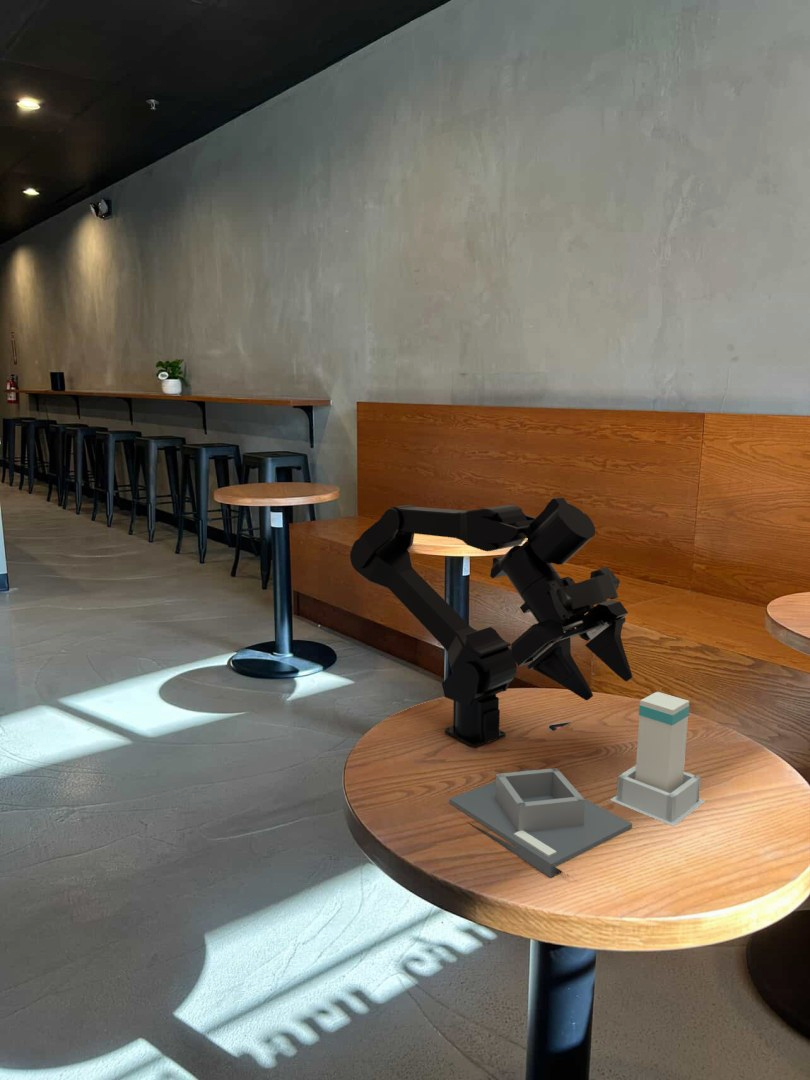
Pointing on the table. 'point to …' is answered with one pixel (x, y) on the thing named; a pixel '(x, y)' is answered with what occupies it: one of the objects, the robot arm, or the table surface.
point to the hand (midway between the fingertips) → (610, 688)
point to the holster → (659, 797)
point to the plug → (662, 741)
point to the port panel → (550, 837)
